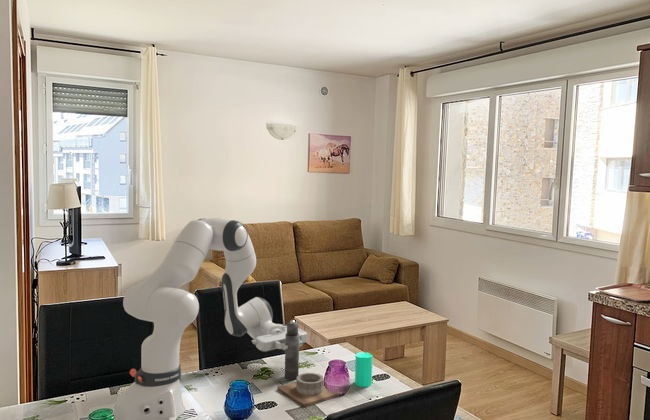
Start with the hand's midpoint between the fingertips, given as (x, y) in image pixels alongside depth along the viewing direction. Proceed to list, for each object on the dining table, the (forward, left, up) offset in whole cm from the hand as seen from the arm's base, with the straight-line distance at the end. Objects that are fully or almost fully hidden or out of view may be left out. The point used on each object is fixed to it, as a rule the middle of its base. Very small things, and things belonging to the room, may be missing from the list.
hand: (293, 345), depth 181 cm
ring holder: (-2, -13, -12) cm, 18 cm away
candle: (+18, -18, -12) cm, 28 cm away
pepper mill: (0, +1, -12) cm, 12 cm away
